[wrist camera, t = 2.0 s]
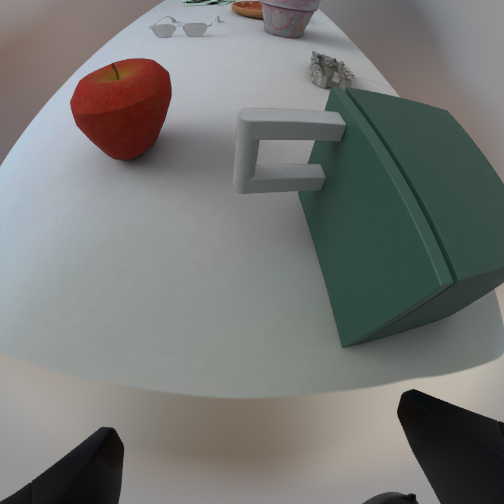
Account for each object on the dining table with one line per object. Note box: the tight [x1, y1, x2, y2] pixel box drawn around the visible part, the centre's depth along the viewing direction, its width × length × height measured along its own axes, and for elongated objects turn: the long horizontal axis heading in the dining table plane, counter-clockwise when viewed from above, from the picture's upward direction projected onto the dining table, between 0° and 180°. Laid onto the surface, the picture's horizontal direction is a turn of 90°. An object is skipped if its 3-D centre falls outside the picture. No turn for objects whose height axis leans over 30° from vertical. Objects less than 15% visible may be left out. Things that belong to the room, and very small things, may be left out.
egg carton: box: [310, 51, 354, 91], centre depth 44 cm, size 11×8×4 cm
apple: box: [70, 58, 172, 160], centre depth 26 cm, size 11×11×12 cm
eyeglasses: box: [149, 16, 220, 38], centre depth 56 cm, size 15×18×4 cm
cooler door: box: [233, 87, 454, 348], centre depth 20 cm, size 8×16×13 cm, turn 9°
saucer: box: [232, 1, 263, 19], centre depth 69 cm, size 23×23×4 cm
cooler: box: [345, 88, 504, 345], centre depth 21 cm, size 12×16×13 cm
